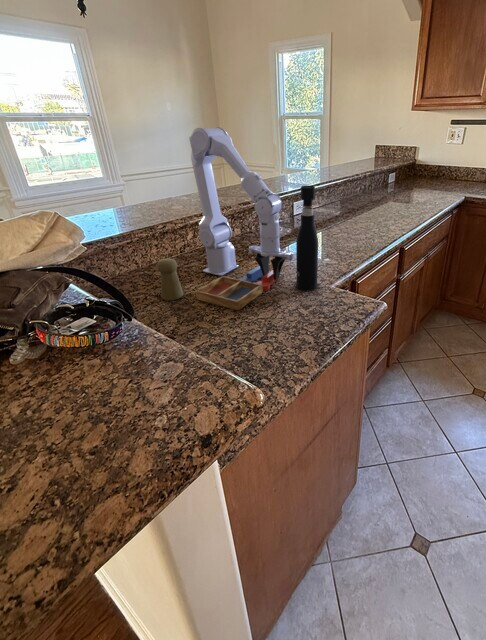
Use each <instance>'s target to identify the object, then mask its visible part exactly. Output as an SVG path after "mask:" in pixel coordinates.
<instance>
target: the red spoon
mask: <svg viewBox="0 0 486 640" xmlns="http://www.w3.org/2000/svg"><path fill="white" fill-rule="evenodd" d="M279 279H280V277H279V278H278V279H277V280H274V276H273V269H272V270H269V273H267V274H266V275H264V276H263V275H262V280H259V281H256V282H255V283H257V284H261V285H262V292H266V291H269V290H270V289H271V285H272V284H273V283H275V282H276V281H278V280H279Z"/></svg>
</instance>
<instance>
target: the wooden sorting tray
mask: <svg viewBox="0 0 486 640" xmlns="http://www.w3.org/2000/svg"><path fill="white" fill-rule="evenodd" d="M239 279H240V278H234V277H230V276H226V275H222V276H220V277H218V278H216V279H214V280H213V281H211V282H208V283H207V284H205V285H204V286H202V287H200V288H198V289H197V290H195V298H196V300H197V301H202V302H206V303H208V304H212V305H215V306H216V305H217V306H220V307H224V308H228V309H231V310H234V311H240V310H241V309H243V307H245V306H247V305H248V304H249V303H250V302H252V301H253V300H255V299H256V298H257V297H259V296H261V294H262V293H264V291H262V285H261V284H257V283H256V282H253V283H252V282H248V281H243V280H239Z"/></svg>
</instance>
